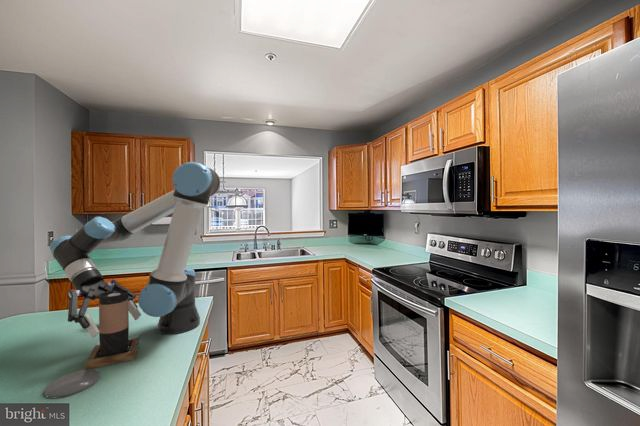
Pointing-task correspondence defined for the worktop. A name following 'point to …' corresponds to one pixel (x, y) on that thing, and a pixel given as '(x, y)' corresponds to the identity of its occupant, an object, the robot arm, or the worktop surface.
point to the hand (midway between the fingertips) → (118, 325)
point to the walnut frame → (98, 362)
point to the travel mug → (113, 323)
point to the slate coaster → (72, 383)
